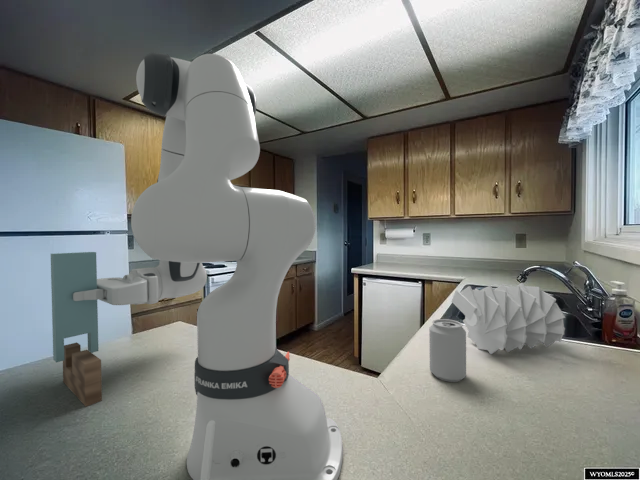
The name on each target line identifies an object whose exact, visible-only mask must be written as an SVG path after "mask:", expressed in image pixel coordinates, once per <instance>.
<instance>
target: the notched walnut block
mask: <svg viewBox="0 0 640 480" xmlns="http://www.w3.org/2000/svg"><path fill="white" fill-rule="evenodd" d="M81 347H82V346H81V344H80V343H78V342H73V343H69V344H64V361H62V382H63V383H64V385H65V386H66V387H67V388H68V389H69V390H70V391H71V392H72V393H73V395H74V396H75V397H76V398H77V399H78V400H79V401H80V402H81V403H82V404H83V405H84V407H85V408H86V407H89V406H92V405H94V404H97V403H100V402H101V401H103V396H102V395H103V394H102V392H103V390H102V382H103V381H102V359H101V358H99V357H98V356H96V354H94V353H91V352H90V351H88V349H84V350H81V349H82V348H81Z"/></svg>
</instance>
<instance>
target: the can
mask: <svg viewBox="0 0 640 480" xmlns="http://www.w3.org/2000/svg"><path fill="white" fill-rule="evenodd" d="M431 323H432V324H431V325H430V327H429V337H428V338H429V371H430V372H431V373H432V374H433V375H434V377H436V378H437V379H439V380H441V381H444V382H450V383H457V382H461V381H462V380H463V379H464V378H466V376H467V332H466V330H465V329H464V328H463V326H464V325H463V322H459V321H457V320H453V319H447V318H439V319H437V318H436V319H434V320H433V321H432V322H431Z"/></svg>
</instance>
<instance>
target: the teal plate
mask: <svg viewBox="0 0 640 480" xmlns="http://www.w3.org/2000/svg"><path fill="white" fill-rule="evenodd" d="M97 267H98V266H97V251H80V252H61V253H59V252H58V253H57V252H56V253H50V279H51V280H50V285H51V286H50V287H51V317H52V319H51V321H52V355H53V356H52V358H53V361H54V362H55V363H59V362H63V361H64V345H65V339H68V338H73V337H76V336H81V335H87V350H88V351H89V352H91V353H92V354H94V353H97V352H99V318H98V317H99V316H98V315H99V312H98V308H99V307H98V300H81V301H74V300H72V293H73V292H77V291H88V290H94V289H97V279H98V277H97V276H98V275H97V274H98V271H97Z"/></svg>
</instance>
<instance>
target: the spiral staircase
mask: <svg viewBox="0 0 640 480" xmlns="http://www.w3.org/2000/svg"><path fill="white" fill-rule="evenodd" d="M556 301H557V299H556V298H555V297H554V296H552V295H550V294H549V293H547V292H545V291H544V290H541V286H533V285H532V286H531V285H525V284H524V282H521V283H519V284H517V285H514V286H506V284H505V283H501V284H500V285H498V286H497V287H496V288H493V287H492V285H488V286H486V287H484V288H482V289H480V290H479V289H478V288H474V289H472V286H471V285H468V286H467V287H465V288H464V289H462V290H461V291H460V290H458V289H456V290H455V292H454V294H453V296H452V299H451V301H450V302H451V303H452V304H453V305H454V306H455V307H456V308H457V309H458V310H459V311H460V312H461V313H462V314H463V315H464V319H463V320H462V323H464V325H465V327H466V329H467V330H468V331H467V332H468V333H467V335H466V338H467V337H468V338H469V339H470V340H471V341H472V342H474V343H475V344H476V349H478V350H483V351H484V350H485V351H488V352H489V354H490V355H492V354H494V353H495V352H497V351H498V350H502V351H503V350H504V349H505V351H506V353H509V352H512V351H513V350H515V349H519V350H522V348H523V347H524V346H528V347H529V348H530V349H533V348H534V347H535V346H537V345H538V344H543V345H544V346H545V348H546V347H547V348H548V347H549V346H551V345H552V344H553V343H555V342H559V343H561V342H562V339H563V336H565V330H566V327H565V325H564V319H565V318H566V316H565V314H564V313H563V311H562V310H561V308H560V307H559V305H558V302H556Z"/></svg>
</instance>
